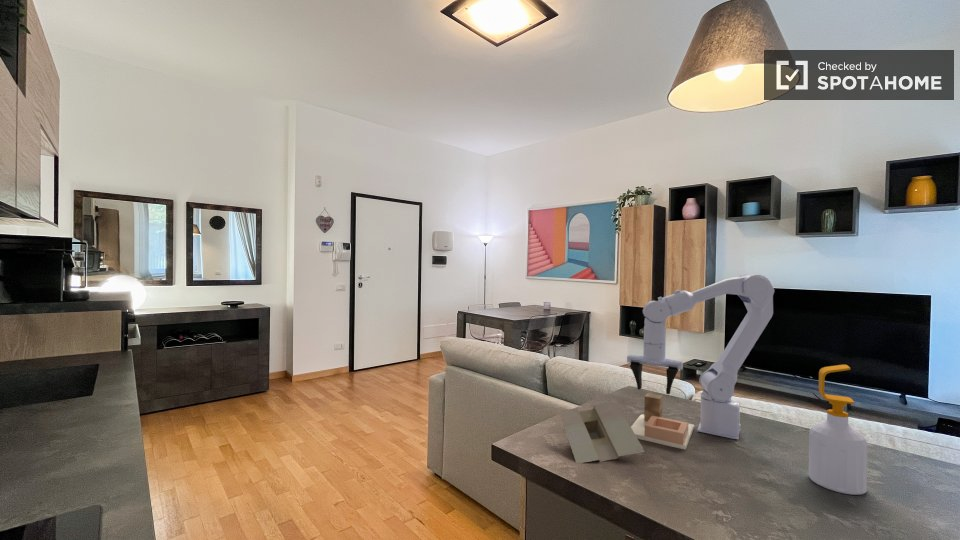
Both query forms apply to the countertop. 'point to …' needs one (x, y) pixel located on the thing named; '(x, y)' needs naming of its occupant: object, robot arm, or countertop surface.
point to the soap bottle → (837, 446)
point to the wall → (599, 433)
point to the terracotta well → (666, 430)
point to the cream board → (640, 434)
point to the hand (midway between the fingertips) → (653, 391)
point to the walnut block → (652, 406)
